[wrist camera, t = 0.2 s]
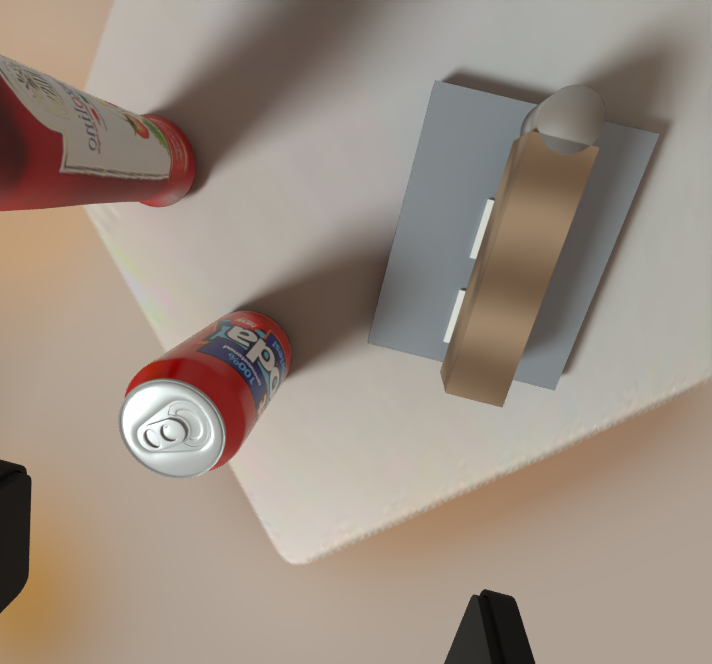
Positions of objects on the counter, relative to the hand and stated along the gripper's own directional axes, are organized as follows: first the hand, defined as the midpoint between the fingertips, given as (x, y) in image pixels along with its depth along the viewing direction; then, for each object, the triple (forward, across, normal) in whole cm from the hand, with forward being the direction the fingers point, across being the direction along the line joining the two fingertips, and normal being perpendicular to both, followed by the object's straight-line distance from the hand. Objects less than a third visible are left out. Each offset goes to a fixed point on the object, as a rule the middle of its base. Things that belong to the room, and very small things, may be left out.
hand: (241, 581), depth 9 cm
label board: (+30, -10, -7) cm, 32 cm away
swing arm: (+25, -10, -7) cm, 28 cm away
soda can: (+30, +8, +7) cm, 32 cm away
